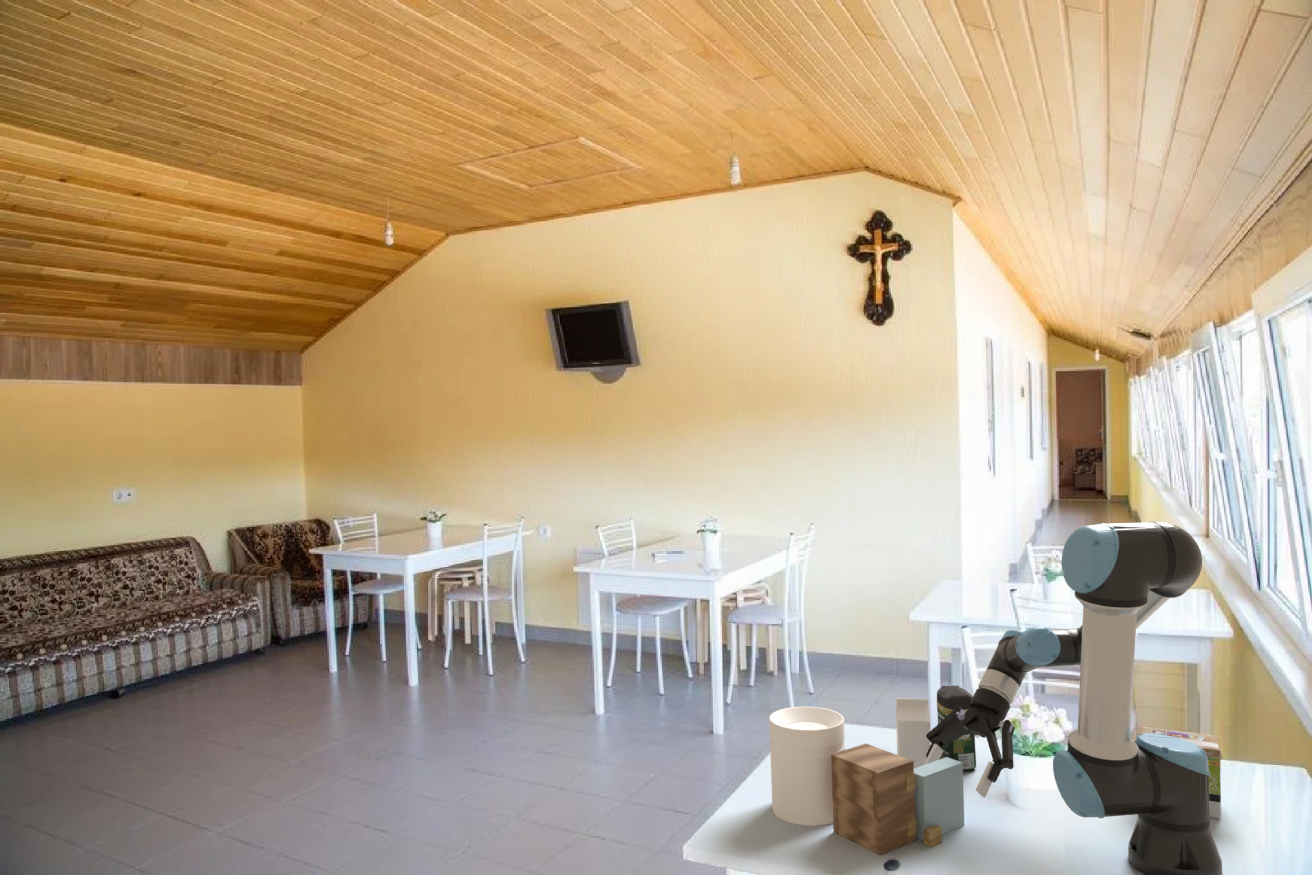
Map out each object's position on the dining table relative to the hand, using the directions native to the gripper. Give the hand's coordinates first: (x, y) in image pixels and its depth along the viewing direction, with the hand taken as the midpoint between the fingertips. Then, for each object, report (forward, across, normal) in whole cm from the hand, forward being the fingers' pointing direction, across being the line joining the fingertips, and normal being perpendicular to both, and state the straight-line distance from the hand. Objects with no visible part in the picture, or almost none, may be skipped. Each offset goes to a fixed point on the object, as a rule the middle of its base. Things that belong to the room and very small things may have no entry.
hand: (952, 783), depth 191 cm
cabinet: (+17, +4, +6) cm, 18 cm away
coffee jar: (-13, +19, -25) cm, 34 cm away
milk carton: (-2, +20, -14) cm, 24 cm away
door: (+10, 0, -2) cm, 10 cm away
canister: (+19, +23, +8) cm, 31 cm away
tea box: (-24, -24, -37) cm, 50 cm away
